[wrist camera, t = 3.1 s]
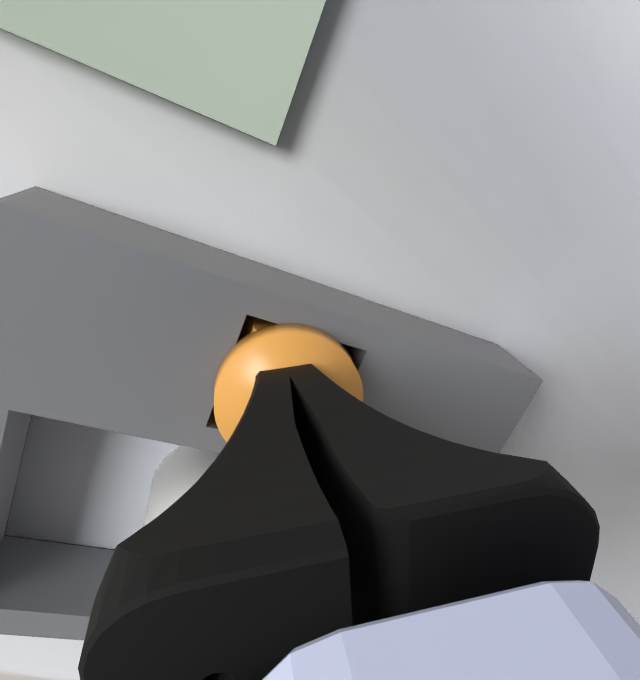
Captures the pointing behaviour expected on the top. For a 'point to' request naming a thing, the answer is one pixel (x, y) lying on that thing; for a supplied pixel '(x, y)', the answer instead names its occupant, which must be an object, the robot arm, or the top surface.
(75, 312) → the dock
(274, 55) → the mat
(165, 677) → the robot arm
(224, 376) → the plunger
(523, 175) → the top surface
